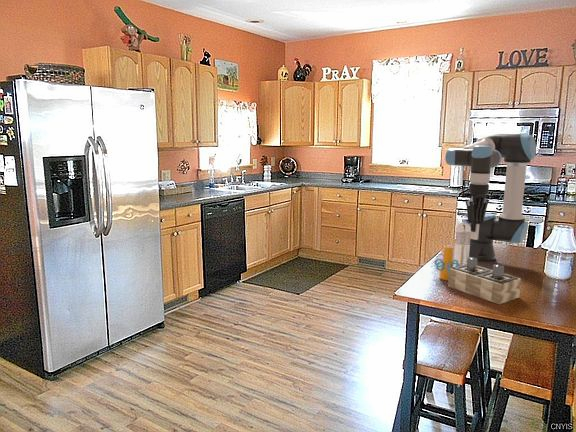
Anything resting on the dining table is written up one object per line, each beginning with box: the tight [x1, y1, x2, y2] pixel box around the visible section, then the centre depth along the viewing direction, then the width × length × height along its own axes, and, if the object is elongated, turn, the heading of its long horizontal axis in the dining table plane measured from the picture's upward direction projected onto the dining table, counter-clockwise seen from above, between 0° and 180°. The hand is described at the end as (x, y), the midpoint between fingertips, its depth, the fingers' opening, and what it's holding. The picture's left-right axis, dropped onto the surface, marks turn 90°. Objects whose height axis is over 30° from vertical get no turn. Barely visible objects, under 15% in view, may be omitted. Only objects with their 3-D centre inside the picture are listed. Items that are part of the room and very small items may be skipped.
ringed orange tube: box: [434, 245, 460, 281], centre depth 206 cm, size 12×10×15 cm
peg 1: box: [466, 257, 479, 272], centre depth 194 cm, size 4×4×8 cm
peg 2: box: [492, 263, 505, 280], centre depth 184 cm, size 4×4×8 cm
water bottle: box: [453, 218, 471, 267], centre depth 218 cm, size 7×7×25 cm
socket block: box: [447, 264, 522, 305], centre depth 190 cm, size 14×24×8 cm, turn 33°
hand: (474, 238), depth 192 cm, fingers closed
